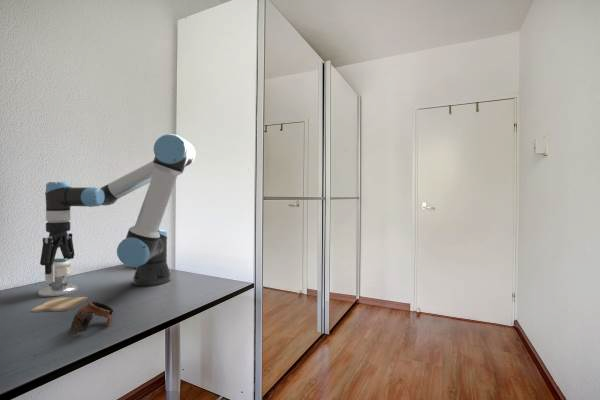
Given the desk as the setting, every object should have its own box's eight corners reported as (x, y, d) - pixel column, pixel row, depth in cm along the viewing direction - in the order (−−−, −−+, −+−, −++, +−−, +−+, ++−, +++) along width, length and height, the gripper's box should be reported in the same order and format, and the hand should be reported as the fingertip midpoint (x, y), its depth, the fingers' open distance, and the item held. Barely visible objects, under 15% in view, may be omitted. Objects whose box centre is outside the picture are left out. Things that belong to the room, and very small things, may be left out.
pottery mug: (76, 324, 91) (93, 298, 93) (106, 337, 92) (121, 310, 94) (54, 331, 79) (74, 301, 82) (88, 345, 80) (107, 315, 83)
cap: (75, 271, 123) (75, 256, 123) (62, 276, 115) (62, 260, 115) (54, 272, 122) (54, 256, 122) (40, 277, 114) (40, 261, 114)
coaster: (87, 298, 111) (87, 296, 111) (68, 310, 100) (68, 307, 100) (54, 300, 110) (54, 297, 110) (31, 311, 99) (31, 309, 99)
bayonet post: (84, 286, 125) (83, 263, 125) (65, 296, 113) (65, 270, 113) (52, 287, 124) (52, 263, 123) (30, 297, 112) (30, 271, 111)
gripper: (65, 219, 128) (65, 271, 129) (26, 224, 107) (26, 287, 107) (84, 219, 129) (84, 271, 130) (49, 224, 108) (49, 286, 108)
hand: (58, 278), depth 118 cm, fingers open, 9 cm apart
